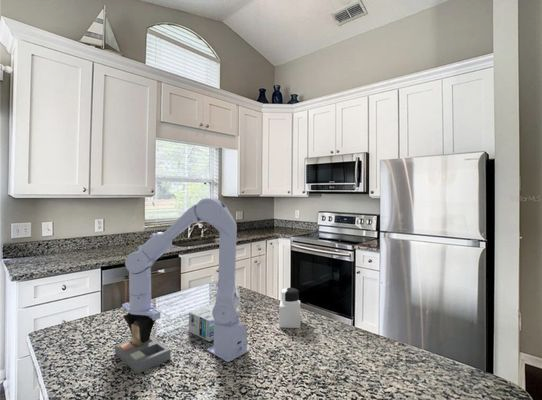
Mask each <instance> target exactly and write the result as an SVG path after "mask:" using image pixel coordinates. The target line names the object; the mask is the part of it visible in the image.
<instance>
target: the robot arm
mask: <svg viewBox="0 0 542 400" xmlns="http://www.w3.org/2000/svg"><path fill="white" fill-rule="evenodd" d="M201 221H202V222H205V223H208V224H210V225H211V226H212V227H213V228H214V229H215V230H217V232H218V233H219V247H218V248H219V249H218V277H217V279H218V280H217V281H218V283H217V285H218V286H217V292H216V297H215V303H214V304H215V306H214V308H213V311H212V315H213V318H214V340H213V345H212V346H210V347H208V348H207V351H208V352H210V353H211V354H213V355H215V356H217V357H218V358H220V359H221V360H223V361H225V362H227V363H229V362H231V361H233V360H235V359H237V358H238V357H241V356H242V355H244V354H246V353H249V351H250V348H248V331H247V328H246V326H245V325H244V324H243V323H242V322H241V321H240V316H239V314H238V312H237V308H238V306H239V304H240V302H239V301H240V300H239V297H238V294H237V288H236V266H237V265H236V264H237V263H236V261H237V235H238V233H237V231H238V225H237V222H236V220H235V218H234V217H233V215H232V214H231V212H230V211H229V209H228V206H227V205H226V204H225V203H224V202H223V201H221V200H220V199H218V198H216V197H211V198H209V197H207V198H202V199H201V200H199V201H198V202H197V204H196V203H195V204H193V205H192V206H191V207H189V208H188V209H187V210H186V211H185V212H184V213H183V214H182V215H181V216H179V217H178V218H177V220H176V221H174V222H173V223H172V224H171V225H170V226H169V227H168V228H167V229H166V230H165V231H164V232H162V231H159V232H154V233H152V234H151V235H149V239H148V240H147V241H145V243H143V244H142V245H139V246H138V247H137V251H133V252H130V253H129V254H128V256H127V257H126V258H125V261H124V264H125V268H126V269H127V271H128V275H129V278H128V279H129V283H128V285H129V287H128V288H129V290H128V291H129V293H128V294H129V295H128V296H129V302H125V303H122V305H121V310H122V311H123V312H128V313H127V314H125V315H123V319H124V320H125V322H126V323H127V326H128V328H129V331H130V334H131V336H132V324H133V323H134V321H136V322H137V324H138V326H139V330H140V337H141V342H142V343H144V342H146V341H148V340H149V338H150V336H151V334H152V330H153V327H154V324H155V323H156V321H158V320H159V319H161V311H160V310H158V309H156V308H155V303H152V267H153V265H154V263H155V262H156V261H157V260H158V259H159V258H161V256H162V255H164V254H165V253H166V252H167V251H168V250H169V249H171V248H172V246H173V240H174V239H176V238H177V237H178V236H179V235H180V234H181V233H182V232H185V230H186V229H187V228H189V227H190V226H191V225H192V224H194V223H198V222H201Z"/></svg>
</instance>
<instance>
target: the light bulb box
mask: <svg viewBox="0 0 542 400" xmlns="http://www.w3.org/2000/svg"><path fill="white" fill-rule="evenodd" d="M215 304H216V303H212V304H209V305H206V306H203V307H200V308H196V309H194V310H191V311H189V312H188V332H189V333H190V334H193V335H195V336H197V337H199V338H201V339H202V340H205V341H207V342H212V341H214V318H213V315H212V311H213V308H214V306H215Z"/></svg>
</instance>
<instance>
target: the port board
mask: <svg viewBox="0 0 542 400" xmlns="http://www.w3.org/2000/svg"><path fill="white" fill-rule="evenodd" d="M114 350H115V351H114V353H115V356H116V357H118V358H119V360H120V361H122V362H123V363H125V365H127V366H128V368H130V369H131V370H133V372H135V374H137V375H138V374H140V373H143V372H145V371H148V370H149V369H152V368H154V367H156V366H158V365H160V364H163V363H165V362H167V361H169V360H171V356H172V355H171V349H170V348H169V347H167V346H166V345H164V344H163V343H161V342H160V341H159V340H157V339H156V338H154V337H152V336H151V335H150V342H149V343H147V344H144V345H142V346H139V347H137V348H136V347H135V346H133V345H132V338H131V339H129V340H127V341H123V342H119V343H117V344H115V346H114Z"/></svg>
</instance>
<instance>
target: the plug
mask: <svg viewBox="0 0 542 400" xmlns="http://www.w3.org/2000/svg"><path fill="white" fill-rule="evenodd" d="M131 339H132V345H133V346H135V347H136V348H137V347H139V346H142V345H144V344H147V343H149V342H150V338H149V340H148V341H146V342H144V343H142V342H141V337H140V330H139V326H138V324H137V322H136V321H134V323H133V324H132V335H131Z"/></svg>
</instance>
